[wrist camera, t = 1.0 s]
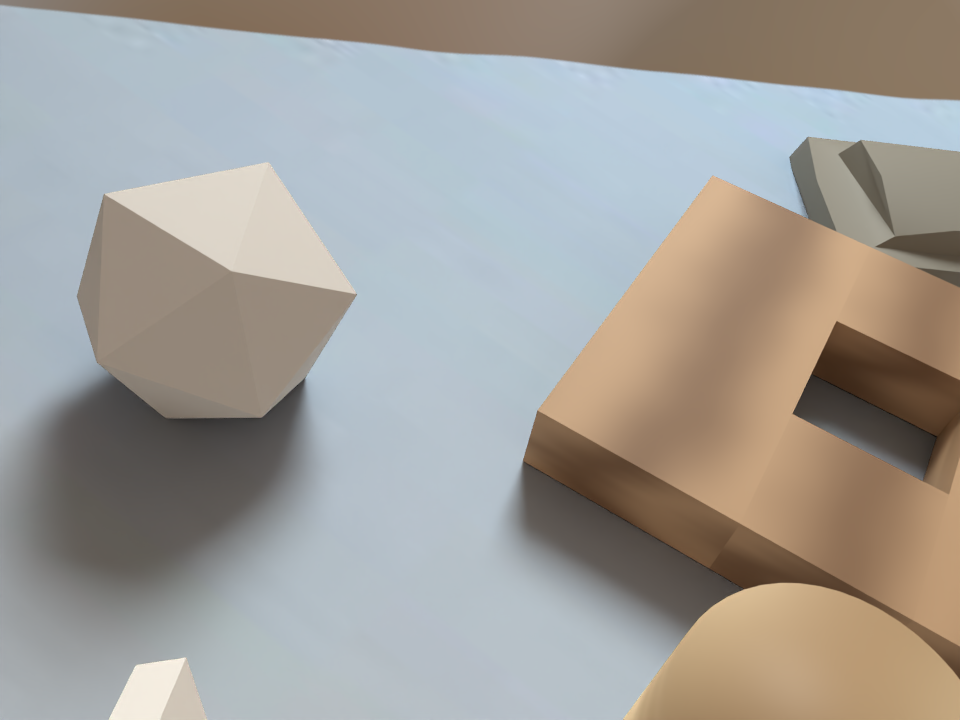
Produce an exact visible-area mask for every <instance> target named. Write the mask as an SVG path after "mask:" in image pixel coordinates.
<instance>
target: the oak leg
mask: <svg viewBox="0 0 960 720" xmlns="http://www.w3.org/2000/svg"><path fill="white" fill-rule="evenodd" d="M623 720H960V679H959V678H958V677H957V675H956V674H955V673H954V671H953V670H952V669H951V668H950V667H949V666H948V665H947V663H946V662H945V661H944V660H943V659H942V658H941V657H940V656H939V655H938V654H937V653H936V652H935V651H934V650H933V649H932V648H931V647H930V646H929V645H928V644H927V643H926V642H924V641H923V640H922V639H921V638H920V637H919V636H918V635H917V634H915V633H914V632H913V631H911V630H910V629H909V628H907V627H906V626H905V625H903V624H902V623H901V622H899V621H898V620H896V619H895V618H893V617H892V616H890V615H888V614H887V613H885V612H884V611H882V610H880V609H879V608H877V607H875V606H873V605H871V604H869V603H867V602H865V601H863V600H861V599H858V598H856V597H853V596H850V595H848V594H845V593H842V592H840V591H836V590H832V589H828V588H825V587H821V586H815V585H808V584H801V583H775V584H766V585H760V586H756V587H752V588H748V589H744V590H742V591H740V592H737V593H735V594H733V595H730V596H728V597H726V598H725V599H723V600H722V601H720V602H718V603H717V604H715V605H714V606H712V607H711V608H710V609H709V610H708V611H707V612H705V613H704V614H703V615H702V616H701V617H700V618H699V619H698V620H697V621H696V623H695V624H694V625H693V626H692V627H691V629H690V630H689V631H688V632H687V634H686V635H685V636H684V638H683V639H682V641H681V642H680V643H679V645H678V646H677V647H676V649H675V650H674V651H673V653H672V654H671V655H670V657H669V658H668V659H667V661H666V662H665V663H664V665H663V666H662V667H661V669H660V670H659V671H658V673H657V674H656V676H655V677H654V678H653V680H652V681H651V682H650V684H649V685H648V686H647V688H646V689H645V690H644V692H643V693H642V694H641V696H640V697H639V698H638V700H637V701H636V702H635V704H634V705H633V707H632V708H631V709H630V711H629V712H628V713H627V715H626V716H625V717H624V719H623Z"/></svg>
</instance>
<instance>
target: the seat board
mask: <svg viewBox="0 0 960 720" xmlns="http://www.w3.org/2000/svg"><path fill="white" fill-rule="evenodd" d="M811 374H813V375H815V376H817V377H819V378H821V379H823V380H825V381H827V382H829V383H831V384H833V385H835V386H837V387H839V388H841V389H843V390H845V391H847V392H849V393H851V394H853V395H855V396H857V397H859V398H861V399H863V400H865V401H867V402H869V403H871V404H873V405H875V406H877V407H879V408H881V409H883V410H885V411H887V412H889V413H891V414H893V415H895V416H897V417H899V418H901V419H903V420H905V421H907V422H909V423H911V424H913V425H915V426H917V427H919V428H921V429H923V430H925V431H927V432H929V433H931V434H933V435H935V436H937V438H936V441H935V444H934V447H933V451H932V454H931V457H930V460H929V463H928V466H927V470H926V473H925V476H924V479H923V481H921V480H919V479H918V478H916V477H914V476H912V475H910V474H908V473H906V472H904V471H902V470H900V469H898V468H896V467H894V466H892V465H890V464H888V463H887V462H885V461H883V460H881V459H879V458H877V457H875V456H873V455H871V454H869V453H867V452H865V451H863V450H861V449H859V448H857V447H856V446H854V445H852V444H850V443H848V442H846V441H844V440H842V439H840V438H838V437H836V436H834V435H832V434H830V433H828V432H826V431H825V430H823V429H821V428H819V427H817V426H815V425H813V424H811V423H809V422H807V421H805V420H803V419H801V418H799V417H797V416H795V415H794V414H792V413H793V411H794V409H795V407H796V405H797V403H798V401H799V399H800V397H801V395H802V392H803V390H804V388H805V386H806V384H807V382H808V380H809V378H810V376H811ZM523 461H524V462H526V463H527V464H529V465H531V466H533V467H534V468H536V469H538V470H540V471H541V472H543V473H545V474H546V475H548V476H550V477H552V478H553V479H555V480H557V481H559V482H560V483H562V484H564V485H566V486H567V487H569V488H571V489H572V490H574V491H576V492H578V493H579V494H581V495H583V496H585V497H586V498H588V499H590V500H591V501H593V502H595V503H597V504H598V505H600V506H602V507H604V508H605V509H607V510H609V511H610V512H612V513H614V514H616V515H617V516H619V517H621V518H623V519H624V520H626V521H628V522H629V523H631V524H633V525H635V526H636V527H638V528H640V529H642V530H643V531H645V532H647V533H648V534H650V535H652V536H654V537H655V538H657V539H659V540H661V541H662V542H664V543H666V544H667V545H669V546H671V547H673V548H674V549H676V550H678V551H680V552H681V553H683V554H685V555H686V556H688V557H690V558H692V559H693V560H695V561H697V562H699V563H700V564H702V565H704V566H705V567H707V568H709V569H711V570H712V571H714V572H716V573H718V574H719V575H721V576H723V577H725V578H726V579H728V580H730V581H731V582H733V583H735V584H737V585H738V586H740V587H742V588H744V589H748V588H752V587H756V586H760V585H766V584H775V583H801V584H808V585H815V586H821V587H825V588H828V589H832V590H836V591H840V592H842V593H845V594H848V595H850V596H853V597H856V598H858V599H861V600H863V601H865V602H867V603H869V604H871V605H873V606H875V607H877V608H879V609H880V610H882V611H884V612H885V613H887V614H888V615H890V616H892V617H893V618H895V619H896V620H898V621H899V622H901V623H902V624H903V625H905V626H906V627H907V628H909V629H910V630H911V631H913V632H914V633H915V634H917V635H918V636H919V637H920V638H921V639H922V640H923V641H924V642H926V643H927V644H928V645H929V646H930V647H931V648H932V649H933V650H934V651H935V652H936V653H937V654H938V655H939V656H940V657H941V658H942V659H943V660H944V661H945V662H946V663H947V665H948V666H949V667H950V668H951V669H952V670H953V671H954V673H955V674H956V675H957V677H958V678H959V679H960V287H957V286H955V285H953V284H951V283H949V282H946V281H944V280H942V279H940V278H937V277H935V276H933V275H931V274H929V273H926V272H924V271H922V270H920V269H918V268H915V267H913V266H911V265H909V264H907V263H904V262H902V261H900V260H898V259H896V258H893V257H891V256H889V255H887V254H885V253H882V252H880V251H878V250H876V249H874V248H871V247H869V246H867V245H865V244H863V243H860V242H858V241H856V240H854V239H852V238H849V237H847V236H845V235H843V234H840V233H838V232H836V231H834V230H832V229H829V228H827V227H825V226H823V225H821V224H818V223H816V222H814V221H812V220H810V219H807V218H805V217H803V216H801V215H799V214H796V213H794V212H792V211H790V210H788V209H785V208H783V207H781V206H779V205H777V204H774V203H772V202H770V201H768V200H766V199H763V198H761V197H759V196H757V195H755V194H752V193H750V192H748V191H746V190H743V189H741V188H739V187H737V186H735V185H732V184H730V183H728V182H726V181H724V180H721V179H719V178H717V177H715V176H712V177H711V178H710V180H709V181H708V182H707V184H706V185H705V186H704V188H703V189H702V190H701V192H700V193H699V194H698V196H697V197H696V198H695V200H694V201H693V203H692V204H691V205H690V207H689V208H688V209H687V211H686V212H685V213H684V215H683V216H682V217H681V219H680V220H679V221H678V223H677V224H676V225H675V227H674V228H673V229H672V231H671V232H670V233H669V235H668V236H667V237H666V239H665V240H664V241H663V243H662V244H661V245H660V247H659V248H658V250H657V251H656V252H655V254H654V255H653V256H652V258H651V259H650V260H649V262H648V263H647V264H646V266H645V267H644V268H643V270H642V271H641V272H640V274H639V275H638V276H637V278H636V279H635V280H634V282H633V283H632V284H631V286H630V287H629V288H628V290H627V291H626V292H625V294H624V295H623V296H622V298H621V299H620V301H619V302H618V303H617V305H616V306H615V307H614V309H613V310H612V311H611V313H610V314H609V315H608V317H607V318H606V319H605V321H604V322H603V323H602V325H601V326H600V327H599V329H598V330H597V331H596V333H595V334H594V335H593V337H592V338H591V339H590V341H589V342H588V343H587V345H586V346H585V348H584V349H583V350H582V352H581V353H580V354H579V356H578V357H577V358H576V360H575V361H574V362H573V364H572V365H571V366H570V368H569V369H568V370H567V372H566V373H565V374H564V376H563V377H562V378H561V380H560V381H559V382H558V384H557V385H556V386H555V388H554V389H553V390H552V392H551V393H550V395H549V396H548V397H547V399H546V400H545V401H544V403H543V404H542V405H541V407H540V408H539V409H538V411H537V414H536V418H535V421H534V425H533V428H532V431H531V435H530V438H529V442H528V445H527V449H526V452H525V456H524V459H523Z"/></svg>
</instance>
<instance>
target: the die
mask: <svg viewBox="0 0 960 720" xmlns="http://www.w3.org/2000/svg"><path fill="white" fill-rule="evenodd" d="M356 295H357V294H356V292H355V291H354V289H353V288H352V286H351V285H350V283H349V282H348V280H347V279H346V277H345V276H344V274H343V273H342V271H341V270H340V268H339V267H338V265H337V264H336V262H335V261H334V259H333V258H332V256H331V255H330V253H329V252H328V250H327V249H326V247H325V246H324V244H323V243H322V241H321V240H320V238H319V237H318V235H317V234H316V232H315V231H314V229H313V228H312V226H311V225H310V223H309V222H308V220H307V219H306V217H305V216H304V214H303V213H302V211H301V210H300V208H299V207H298V205H297V204H296V202H295V201H294V199H293V198H292V196H291V195H290V193H289V192H288V190H287V189H286V187H285V186H284V184H283V183H282V181H281V180H280V178H279V177H278V175H277V174H276V172H275V171H274V169H273V168H272V166H271V165H270V163H269V162H267V163H262V164H257V165H252V166H246V167H241V168H236V169H231V170H226V171H221V172H215V173H210V174H205V175H200V176H195V177H189V178H184V179H179V180H174V181H169V182H164V183H158V184H153V185H148V186H143V187H138V188H132V189H127V190H122V191H117V192H112V193H107V194H104V196H103V200H102V204H101V207H100V211H99V215H98V219H97V222H96V226H95V230H94V234H93V237H92V241H91V245H90V249H89V253H88V256H87V260H86V264H85V268H84V271H83V275H82V279H81V283H80V287H79V290H78V294H77V298H78V301H79V305H80V308H81V311H82V315H83V318H84V321H85V325H86V328H87V331H88V335H89V338H90V341H91V344H92V348H93V351H94V354H95V358H96V361H97V363H98V364H100V365H101V366H102V367H103V368H104V369H106V370H107V371H108V372H109V373H111V374H112V375H113V376H114V377H115V378H117V379H118V380H119V381H120V382H122V383H123V384H124V385H125V386H126V387H128V388H129V389H130V390H131V391H133V392H134V393H135V394H136V395H138V396H139V397H140V398H141V399H142V400H144V401H145V402H146V403H147V404H149V405H150V406H151V407H152V408H153V409H155V410H156V411H157V412H158V413H160V414H161V415H162V416H163V417H165V418H262V417H263V416H264V415H265V414H266V413H267V412H268V411H270V410H271V409H272V408H273V407H274V406H275V405H276V404H277V403H278V402H279V401H280V400H282V399H283V398H284V397H285V396H286V395H287V394H288V393H289V392H290V391H291V390H292V389H293V388H295V387H296V386H297V385H298V384H299V383H300V382H301V381H302V380H303V379H304V378H305V377H306V376H307V374H308V373H309V371H310V369H311V368H312V366H313V365H314V363H315V361H316V360H317V358H318V356H319V355H320V353H321V352H322V350H323V348H324V347H325V345H326V344H327V342H328V340H329V339H330V337H331V336H332V334H333V332H334V331H335V329H336V327H337V326H338V324H339V323H340V321H341V319H342V318H343V316H344V315H345V313H346V311H347V310H348V308H349V307H350V305H351V303H352V302H353V300H354V299H355V297H356Z"/></svg>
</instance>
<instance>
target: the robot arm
mask: <svg viewBox="0 0 960 720" xmlns="http://www.w3.org/2000/svg"><path fill="white" fill-rule="evenodd" d="M109 720H207V718H206V715H205V712H204V709H203V706H202V703H201V700H200V697H199V694H198V691H197V688H196V685H195V682H194V679H193V676H192V673H191V670H190V667H189V664H188V661H187V658H180V659H173V660H166V661H160V662H153V663H147V664H140V665H136V666H135V668H134V670H133V672H132V674H131V676H130V678H129V680H128V682H127V684H126V686H125V688H124V690H123V692H122V694H121V696H120V698H119V700H118V702H117V704H116V706H115V708H114V710H113V712H112V714H111V716H110V718H109Z"/></svg>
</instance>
